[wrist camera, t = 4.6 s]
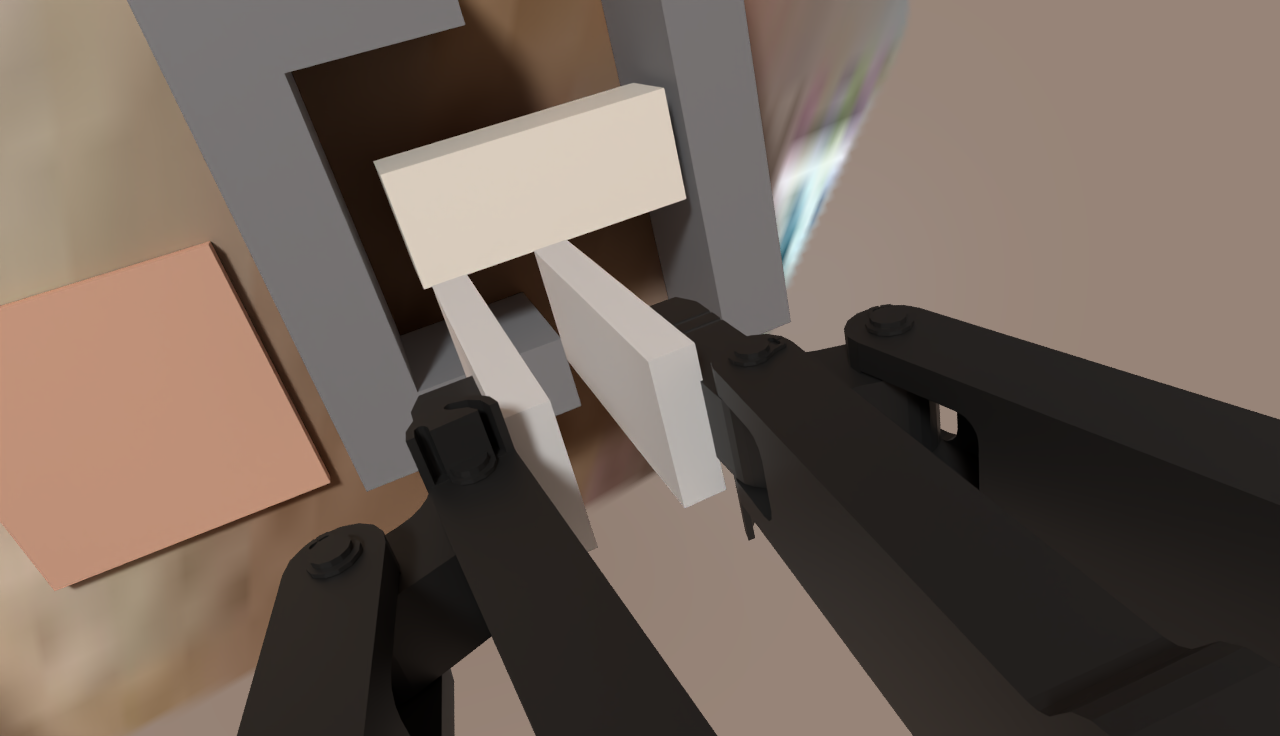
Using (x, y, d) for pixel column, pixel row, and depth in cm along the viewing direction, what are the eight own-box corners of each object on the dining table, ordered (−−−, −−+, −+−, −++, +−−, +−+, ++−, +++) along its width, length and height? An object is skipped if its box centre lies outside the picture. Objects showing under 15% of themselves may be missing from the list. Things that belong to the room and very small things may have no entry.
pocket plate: (357, 420, 34) (366, 491, 29) (157, -5, 26) (120, -13, 21) (725, 282, 38) (790, 322, 33) (649, -122, 30) (721, -153, 25)
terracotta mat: (58, 582, 32) (54, 591, 31) (-126, 344, 26) (-134, 351, 26) (330, 475, 34) (330, 482, 34) (210, 240, 29) (208, 244, 28)
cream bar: (413, 266, 29) (424, 289, 27) (373, 161, 27) (380, 175, 25) (655, 184, 31) (686, 198, 29) (633, 82, 30) (664, 88, 27)
